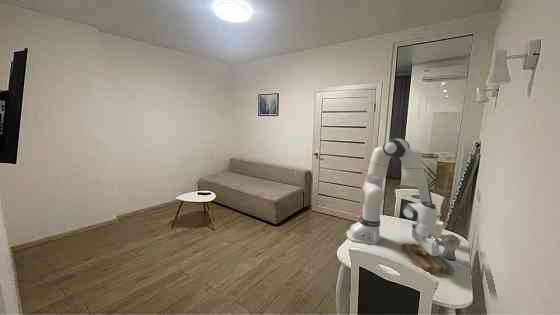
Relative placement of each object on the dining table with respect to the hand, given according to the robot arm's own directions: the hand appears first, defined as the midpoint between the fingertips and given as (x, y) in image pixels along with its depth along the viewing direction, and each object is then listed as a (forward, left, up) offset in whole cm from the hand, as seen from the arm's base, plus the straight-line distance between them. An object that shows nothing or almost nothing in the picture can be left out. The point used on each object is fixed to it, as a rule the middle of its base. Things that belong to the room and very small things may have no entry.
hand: (423, 253), depth 122 cm
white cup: (+26, +33, -6) cm, 43 cm away
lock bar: (+2, +2, -1) cm, 4 cm away
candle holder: (+17, +25, -6) cm, 31 cm away
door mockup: (+2, +1, -5) cm, 6 cm away
